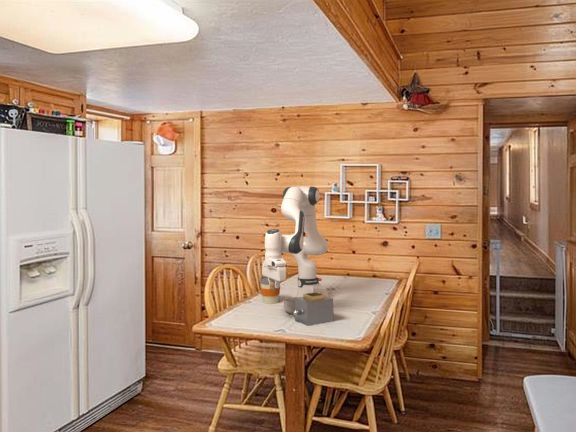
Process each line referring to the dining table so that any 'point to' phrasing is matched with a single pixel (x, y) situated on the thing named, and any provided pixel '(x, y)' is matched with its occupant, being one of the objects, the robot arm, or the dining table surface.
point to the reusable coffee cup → (268, 291)
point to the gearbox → (313, 309)
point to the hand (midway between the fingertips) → (273, 286)
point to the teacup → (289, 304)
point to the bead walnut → (272, 286)
